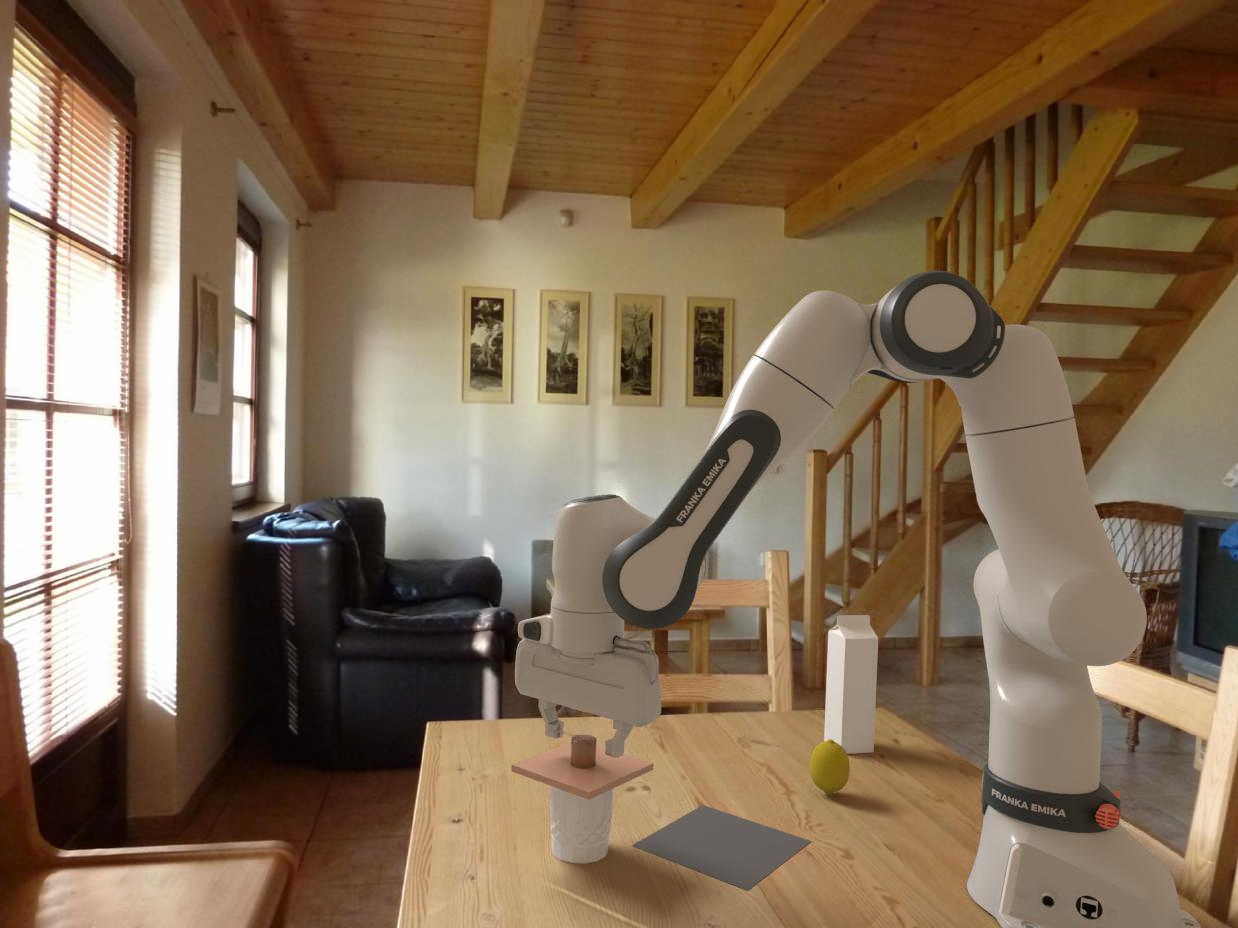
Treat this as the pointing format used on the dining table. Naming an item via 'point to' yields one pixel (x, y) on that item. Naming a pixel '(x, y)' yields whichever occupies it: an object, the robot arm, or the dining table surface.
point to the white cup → (580, 825)
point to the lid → (582, 768)
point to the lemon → (829, 766)
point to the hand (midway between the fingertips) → (583, 745)
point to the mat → (723, 846)
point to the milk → (851, 684)
